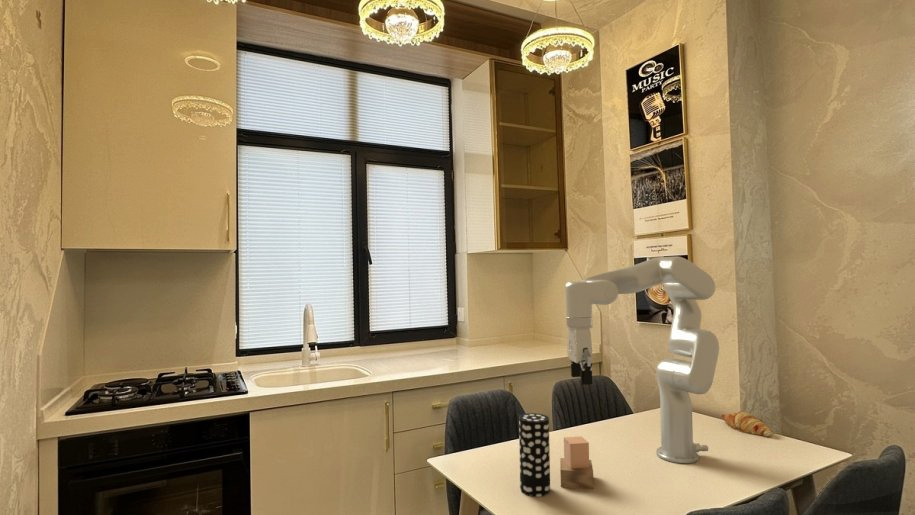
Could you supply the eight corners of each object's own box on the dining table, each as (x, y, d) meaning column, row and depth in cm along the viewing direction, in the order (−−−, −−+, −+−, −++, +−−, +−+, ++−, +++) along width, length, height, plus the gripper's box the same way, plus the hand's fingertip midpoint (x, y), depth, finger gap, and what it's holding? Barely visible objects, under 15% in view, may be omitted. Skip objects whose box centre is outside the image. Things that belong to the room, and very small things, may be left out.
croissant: (778, 447, 174) (785, 426, 176) (760, 437, 171) (767, 416, 173) (727, 428, 194) (733, 410, 196) (710, 419, 191) (717, 400, 193)
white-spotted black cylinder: (517, 484, 139) (516, 413, 139) (545, 482, 139) (544, 412, 140) (523, 497, 130) (522, 422, 131) (553, 495, 131) (552, 421, 132)
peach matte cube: (564, 461, 143) (563, 437, 143) (582, 460, 144) (581, 436, 144) (570, 468, 138) (570, 443, 138) (589, 467, 138) (588, 442, 138)
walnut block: (591, 476, 144) (591, 459, 144) (593, 490, 135) (593, 472, 135) (560, 474, 145) (560, 457, 146) (560, 487, 137) (560, 469, 137)
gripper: (559, 320, 152) (561, 374, 152) (575, 326, 135) (577, 388, 135) (582, 319, 153) (584, 373, 152) (601, 325, 135) (604, 387, 135)
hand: (581, 380), depth 143 cm, fingers open, 9 cm apart
